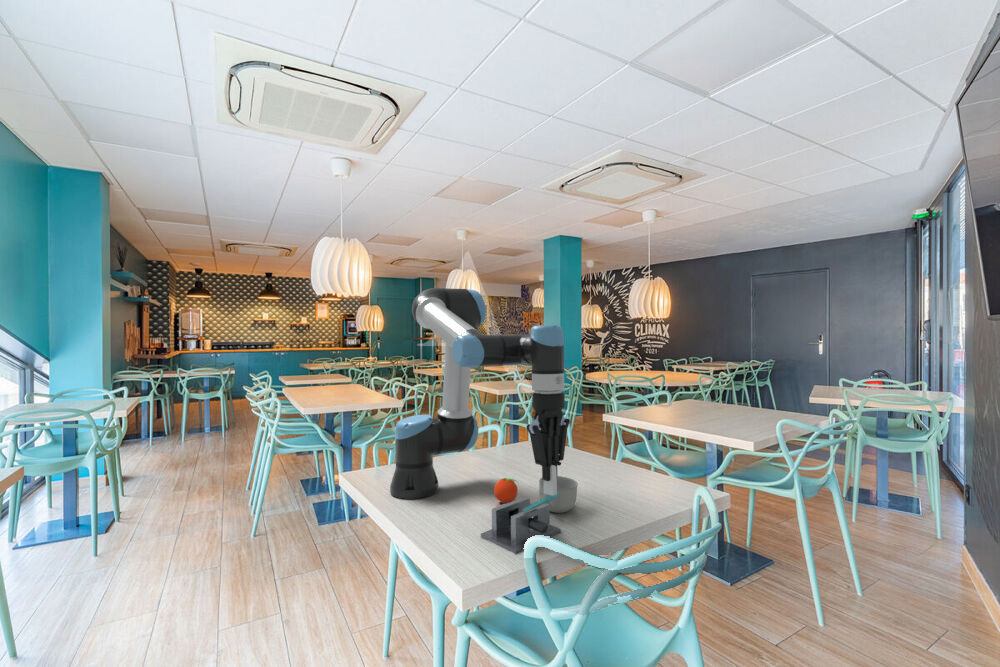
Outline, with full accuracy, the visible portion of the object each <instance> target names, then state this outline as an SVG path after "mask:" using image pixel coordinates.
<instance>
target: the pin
mask: <svg viewBox="0 0 1000 667" xmlns="http://www.w3.org/2000/svg"><path fill="white" fill-rule="evenodd" d="M516 514H518V512H516V511H514V510H511V511H509V521H511V516H513V515H516ZM528 527H529V528H530V529H533V530H535V531H538V532H540V533H543V534H544V533H546V531H547V529H548V525H547V523H545V522H542V521H539V520H537V519H534V518H533V517H532V518H529V519H528Z"/></svg>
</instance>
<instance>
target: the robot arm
mask: <svg viewBox="0 0 1000 667" xmlns="http://www.w3.org/2000/svg"><path fill="white" fill-rule="evenodd" d="M411 314H412V316H413V319H414V320H415V322H416V323H417V324H418V325H419V326H421V327H422V328H424V329H427V330H430V331H432V332H433V333H434V334H435V335H436V336H438V337H439V339H441V340H442V341H443V342H444V343H445V348H444V349H445V350H444V351H445V352H444V366H443V368H444V369H443V385H442V406H441V407H440V408H439V409H438V410H437V413H436V415H437V416H436V418H433V416H432V415H430V414H416V415H412V416H407V417H404V418H402V419H400V420H398V421H397V423H396V424H395V434H394V439H395V442H394V443H395V469H394V472H393V476H392V479H391V483H390V486H389V488H390V489H389V493H391V494H390V495H391V496H392V495H393V497H394V496H395V498H397V497H398V499H403V498H404V499H406V500H407V499H408V500H415V499H421V498H422V499H423V498H427V497H430V496H433V495H434V494H437V492H439V490H440V489H439V486H440V485H439V480H438V477H437V473H436V471H435V468H434V460H433V459H434V456H438V455H444V454H454V453H461V452H465V451H469V450H471V449H472V448H473V447H474V446H475V445H476V442H477V440H478V437H479V426H478V419H476V416H475V415H473V411H472V410H471V409H470V408H469V398H470V382H471V369H474V368H481V367H497V366H500V367H501V366H502V367H503V366H518V365H519V366H520V365H522V366H527V365H529V366H531V390H532V391H534V392H532V394H531V397H532V398H531V401H532V405H531V406H532V409H534V411H535V412H534V415H533V416H534V417H533V422H532V423H531V424H530V423H529V424H527V425H526V430H527V432H528V433H529V437H530V442H531V447H532V448H531V449H532V452H533V457H534V463H535V464H536V465H540V467H541V473H542V474H541V475H542V476H541V478H542V479H543V480H544V493H545V494H548V495H552V496H554V495H556V494H557V476H558V466H562V461H563V460H564V458H565V452H566V451H565V449H566V442H567V436H568V435H567V433H568V428H569V426H570V423H571V420H570V418H566V417H564V413H563V411H562V410H563V409H565V406H566V401H565V399H566V398H565V397H566V395H565V392H563V391H564V390H565V341H564V332H563V330H564V329H563V327H562V326H560V325H557V324H555V325H554V324H550V325H549V324H547V325H546V324H544V325H543V324H542V325H533V326H532V327H531V329H530V334H521V333H519V334H484V333H482V332H480V331H479V330H478V329H479V328H478V327H480V326H481V325H483V324H484V323H485V320H486V317H487V307H486V303H485V299H484V298H483V296H482V295H481V293H480V292H479V291H477V290H474V289H468V288H445V287H441V288H440V287H431V288H428V289H425V290H423V291H421V292H419V293H418V295H416V297H414V299H413V302H412V305H411Z"/></svg>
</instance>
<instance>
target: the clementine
mask: <svg viewBox="0 0 1000 667" xmlns="http://www.w3.org/2000/svg"><path fill="white" fill-rule="evenodd" d="M515 482H516V483H518V481H517V480H516V479H513V478H505V477H504V478H501V479H500V480H498V481H497V482H496V483H495V485H494V488H493V491H494V492H493V493H494V496H495V498H496V500H497V501H499V502H500V503H503V504H507V503H510V502H512V501H515V500H516V498H517V495H518V486H517V484H516V483H515Z"/></svg>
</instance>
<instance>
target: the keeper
mask: <svg viewBox="0 0 1000 667" xmlns="http://www.w3.org/2000/svg"><path fill="white" fill-rule="evenodd" d="M558 496H560V495H559V493H557V494H556V495H554V496H552V495H551V496H548V497H546V498H543V499H542V500H540V499H539V500H538V501H536V502H534V503H532V504H530V506H528V507H526V508H524V509H523V512H525V511H528V510H531V509H533V508H536V507H538V506H540V505H542V504H544V503H546V502H548V501H550V500H552V499H554V498H556V497H558Z"/></svg>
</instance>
